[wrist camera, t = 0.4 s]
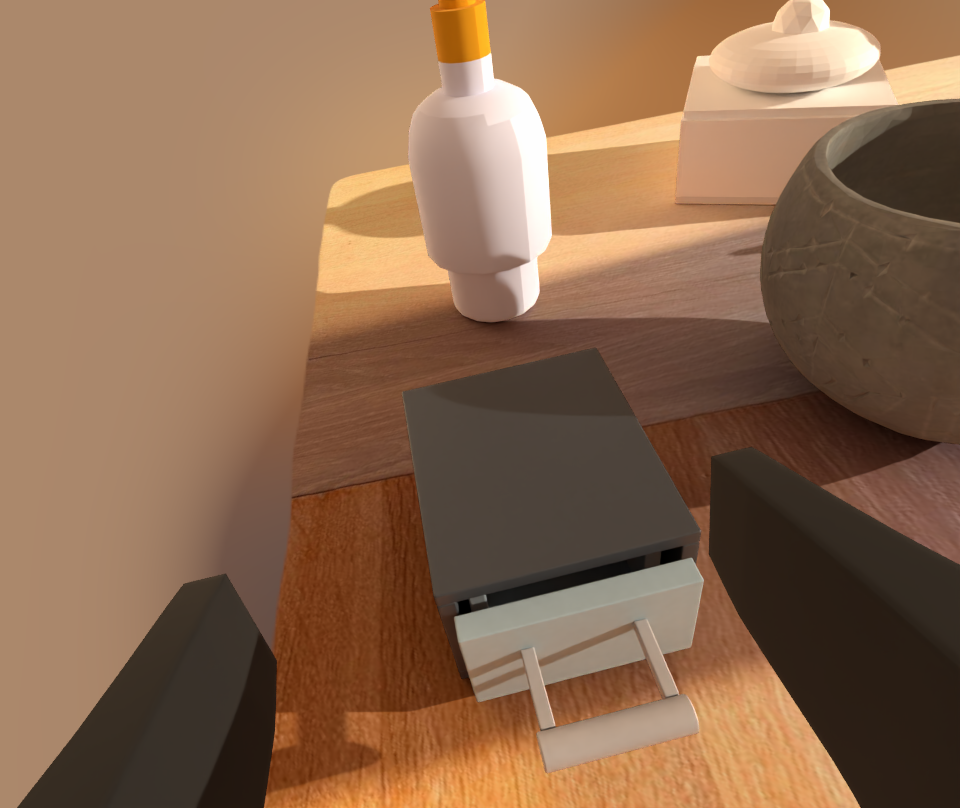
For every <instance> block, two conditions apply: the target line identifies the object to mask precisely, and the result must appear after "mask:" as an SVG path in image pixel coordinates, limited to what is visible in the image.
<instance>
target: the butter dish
mask: <svg viewBox="0 0 960 808" xmlns="http://www.w3.org/2000/svg"><path fill="white" fill-rule="evenodd" d="M829 16H830V9H829V8H828V7H827V5H826V4H825V3H824V1H823V0H789V1H788V2H787V3H786V4H785V5H784V6H783V7H782V8H781V9H780V10H779V11H778V12H777V15H776V17H775V20H774V22H771V23H766V24H761V25H758V26H754V27H751V28H748V29H745V30H743V31H740V32H738V33H736V34H734V35H732V36H730V37H728V38H727V39H725V40H723V41H722V42H721V43H720V44H719V45H717V47H716V48H715V49H714V50H713V51H712V53H711V55H710V56H698V57H697V59H696V64H695V65H694V70H693V74H692V78H691V82H690V86H689V90H688V94H687V99H686V103H685V107H684V111H683V115H682V119H681V129H680V142H679V155H678V168H677V181H676V194H675V204H754V205H776V203H777V201H778V199H779V197H780V195H781V193H782V191H783V190H784V188H785V186H786V184H787V183H788V181H789V179H790V178H791V176H792V175H793V173H794V172H795V170H796V169H797V167H798V166H799V164H800V162H801V161H802V159H803V158H804V157H805V155H806V154H807V153H808V151H809V150H810V149H811V148H812V146H813V145H814V144H815V142H817V141H818V140H819V139H820V138H821V137H822V136H824V135H825V134H826V133H827V132H828V131H829V130H830V129H832V128H834V127H835V126H837V125H839V124H840V123H842V122H844V121H846V120H849V119H851V118H853V117H855V116H858V115H861V114H863V113H866V112H869V111H872V110H877V109H881V108H885V107H891V106H896V105H898V103H897V100H896V98H895V96H894V93H893V91H892V88H891V86H890V84H889V81H888V79H887V77H886V74H885V72H884V69H883V67H882V65H881V62H880V60H879V57H880V55H881V51H880V50H881V49H880V43H879V42H878V40H877V39H876V38H875V37H874V36H873V35H872V34H871V33H869V32H867V31H866V30H864V29H862V28H860V27H857V26H854V25H851V24H848V23H844V22H839V21H831V20H829Z"/></svg>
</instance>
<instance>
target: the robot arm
mask: <svg viewBox="0 0 960 808" xmlns="http://www.w3.org/2000/svg"><path fill="white" fill-rule="evenodd" d="M709 555H710V557H711V559H712V562H713V564H714V566H715V568H716V570H717V572H718V574H719V576H720V578H721V580H722V583H723V585H724V587H725V589H726V591H727V593H728V595H729V597H730V599H731V601H732V603H733V604H734V606H735V608H736V610H737V612H738V614H739V616H740V618H741V619H742V621H743V623H744V624H745V626H746V627H747V629H748V630H749V632H750V634H751V635H752V637H753V638H754V640H755V641H756V643H757V644H758V646H759V648H760V649H761V651H762V652H763V654H764V655H765V657H766V658H767V660H768V662H769V663H770V665H771V666H772V668H773V669H774V671H775V672H776V674H777V675H778V677H779V678H780V680H781V682H782V683H783V685H784V686H785V688H786V689H787V691H788V692H789V694H790V695H791V697H792V698H793V700H794V701H795V703H796V705H797V706H798V708H799V709H800V711H801V712H802V714H803V715H804V717H805V718H806V720H807V721H808V723H809V724H810V726H811V727H812V729H813V731H814V732H815V734H816V735H817V737H818V738H819V740H820V741H821V743H822V744H823V746H824V747H825V749H826V750H827V752H828V754H829V755H830V757H831V758H832V760H833V761H834V763H835V765H836V766H837V768H838V770H839V771H840V773H841V775H842V776H843V778H844V780H845V781H846V783H847V785H848V786H849V788H850V789H851V791H852V793H853V794H854V796H855V798H856V800H857V802H858V804H859V805H860V807H861V808H960V565H959V564H957V563H955V562H953V561H951V560H949V559H948V558H946V557H944V556H942V555H940V554H938V553H936V552H934V551H932V550H930V549H929V548H927V547H925V546H923V545H921V544H919V543H917V542H915V541H914V540H912V539H910V538H908V537H906V536H904V535H903V534H901V533H899V532H897V531H895V530H894V529H892V528H890V527H888V526H886V525H885V524H883V523H881V522H879V521H878V520H876V519H874V518H872V517H871V516H869V515H867V514H865V513H864V512H862V511H860V510H858V509H857V508H855V507H853V506H851V505H850V504H848V503H846V502H845V501H843V500H841V499H839V498H838V497H836V496H834V495H833V494H831V493H829V492H828V491H826V490H824V489H823V488H821V487H819V486H817V485H816V484H814V483H812V482H811V481H809V480H807V479H806V478H804V477H802V476H801V475H799V474H797V473H796V472H794V471H792V470H791V469H789V468H787V467H786V466H784V465H782V464H781V463H779V462H777V461H776V460H774V459H772V458H770V457H769V456H767V455H765V454H764V453H762V452H760V451H758V450H757V449H755V448H753V447H749V448H745V449H741V450H736V451H732V452H728V453H724V454H720V455H716V456H712V457H711V494H710V533H709ZM276 672H277V660H276V658H275V657H274V655H273V653H272V652H271V650H270V648H269V646H268V645H267V643H266V642H265V640H264V638H263V636H262V634H261V633H260V631H259V629H258V628H257V626H256V624H255V623H254V621H253V619H252V618H251V616H250V614H249V612H248V611H247V609H246V607H245V606H244V604H243V602H242V601H241V599H240V597H239V595H238V594H237V592H236V590H235V588H234V587H233V585H232V583H231V582H230V580H229V578H228V577H227V575H226V574H222V575H218V576H214V577H210V578H206V579H201V580H197V581H193V582H190V583H185V584H183V586H182V587H181V588H180V590H179V591H178V592H177V594H176V595H175V596H174V598H173V599H172V600H171V602H170V603H169V604H168V606H167V607H166V608H165V610H164V611H163V613H162V614H161V615H160V617H159V618H158V620H157V621H156V622H155V624H154V625H153V627H152V628H151V629H150V631H149V632H148V634H147V635H146V636H145V638H144V639H143V641H142V642H141V643H140V645H139V646H138V648H137V649H136V651H135V652H134V654H133V655H132V656H131V657H130V659H129V660H128V662H127V663H126V664H125V666H124V668H123V669H122V670H121V671H120V673H119V674H118V676H117V677H116V678H115V680H114V681H113V683H112V684H111V685H110V687H109V688H108V689H107V691H106V692H105V693H104V695H103V696H102V698H101V699H100V700H99V702H98V703H97V704H96V706H95V707H94V708H93V710H92V711H91V713H90V714H89V715H88V717H87V718H86V720H85V721H84V722H83V724H82V725H81V726H80V728H79V729H78V730H77V732H76V733H75V734H74V736H73V737H72V738H71V740H70V741H69V742H68V743H67V745H66V746H65V747H64V748H63V750H62V751H61V752H60V754H59V755H58V756H57V757H56V759H55V760H54V761H53V763H52V764H51V765H50V766H49V768H48V769H47V770H46V772H45V773H44V774H43V775H42V777H41V778H40V779H39V780H38V782H37V783H36V784H35V785H34V787H33V788H32V789H31V791H30V792H29V793H28V794H27V796H26V797H25V798H24V800H23V801H22V802H21V803H20V805H19V806H18V807H17V808H264V803H265V796H266V789H267V783H268V776H269V769H270V762H271V755H272V748H273V741H274V733H275V714H276Z"/></svg>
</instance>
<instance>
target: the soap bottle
mask: <svg viewBox="0 0 960 808" xmlns="http://www.w3.org/2000/svg"><path fill="white" fill-rule="evenodd" d="M438 2H439V4H437V5H434V6H432V7H431V8H430V11H431V17H432V24H433V30H434V37H435V43H436V49H437V55H438V63H439V70H440V76H441V82H442V87H441V88H439V89H437V90H435V91H434V92H433V93H432V94H430V95H429V96H428V97H427V98H426V99H424V100H423V101H422V102H421V103H420V104H419V106H418V107H417V109H416V110H415V112H414V113H413V116H412V120H411V124H410V129H409V147H408V160H409V166H410V170H411V175H412V180H413V185H414V190H415V194H416V199H417V204H418V209H419V214H420V219H421V223H422V228H423V233H424V238H425V243H426V247H427V252H428V256H429V257H430V258H431V259H432V260H433V261H434V262H435V263H436V264H437V265H438V266H439V267H440V268H443V269H446V270H448V275H449V280H450V285H451V290H452V296H453V301H454V305H455V307H456V308H457V309H458V311H459V312H460V313H461V314H462V315H463V316H466V317H468V318H471V319H473V320H476V321H481V322H499V321H505V320H510V319H512V318H515V317H517V316H520V315H522V314H523V313H525V312H526V311H527V310H528V309H530V308H531V307H532V306H533V305H534V304H535V302H536V300H537V298H538V295H539V292H540V291H539V279H538V266H537V256H539V255H540V254H541V253H543V252H544V251H545V250H546V248H547V245H548V243H549V241H550V239H551V237H552V229H551V212H550V196H549V179H548V162H547V146H546V136H545V133H544V129H543V126H542V122H541V119H540V117H539V114H538V112H537V110H536V108H535V106H534V104H533V103H532V101H531V99H530V97H529V95H528V94H527V93H525V92H524V91H523V90H522V89H520V88H519V87H517V86H514V85H512V84H509V83H507V82H504V81H502V80H499V79H494V77H493V68H492V59H491V52H490V42H489V33H488V24H487V15H486V6H485V0H438Z"/></svg>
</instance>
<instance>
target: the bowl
mask: <svg viewBox="0 0 960 808" xmlns="http://www.w3.org/2000/svg"><path fill="white" fill-rule="evenodd" d="M760 282H761V291H762V295H763V302H764V306H765V310H766V315H767V317H768V320H769V322H770V325H771V327H772V330H773V332H774V335H775V337H776V339H777V340H778V342H779V344H780V346H781V347H782V349H783V350H784V352H785V353H786V355H787V356H788V358H789V359H790V361H791V362H792V364H793V365H794V366H795V367H796V368H797V369H798V370H799V371H800V372H801V374H802V375H803V376H804V377H805V378H807V379H808V380H809V381H810V382H811V383H812V384H813V385H814V386H816V387H817V388H818V389H819V390H821V391H822V392H823V393H825V394H826V395H827V396H828V397H830V398H831V399H833V400H834V401H836V402H837V403H839V404H840V405H842V406H844V407H845V408H847V409H848V410H850V411H852V412H854V413H855V414H857V415H859V416H861V417H863V418H865V419H868V420H870V421H872V422H875V423H877V424H879V425H882V426H884V427H886V428H889V429H891V430H893V431H896V432H898V433H901V434H905V435H909V436H912V437H916V438H920V439H925V440H931V441H937V442H944V443H951V444H958V445H960V99H946V100H932V101H924V102H916V103H909V104H902V105H896V106H891V107H885V108H881V109H877V110H872V111H869V112H866V113H863V114H861V115H858V116H855V117H853V118H851V119H849V120H846V121H844V122H842V123H840V124H839V125H837V126H835V127H834V128H832V129H830V130H829V131H828V132H827V133H826V134H825V135H824V136H822V137H821V138H820V139H819V140H818V141H817V142H815V144H814V145H813V146H812V148H811V149H810V150H809V151H808V153H807V154H806V155H805V157H804V158H803V159H802V161H801V162H800V164H799V166H798V167H797V169H796V170H795V172H794V173H793V175H792V176H791V178H790V179H789V181H788V183H787V184H786V186H785V188H784V190H783V191H782V193H781V195H780V197H779V199H778V201H777V203H776V206H775V208H774V210H773V212H772V214H771V217H770V220H769V223H768V227H767V230H766V233H765V238H764V242H763V246H762V254H761V269H760Z"/></svg>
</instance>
